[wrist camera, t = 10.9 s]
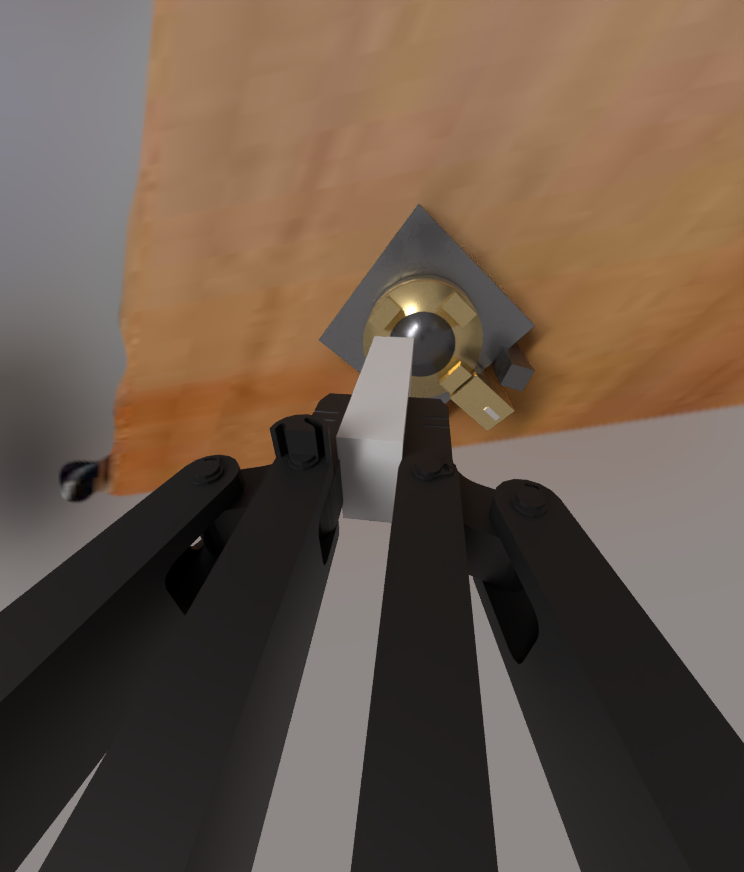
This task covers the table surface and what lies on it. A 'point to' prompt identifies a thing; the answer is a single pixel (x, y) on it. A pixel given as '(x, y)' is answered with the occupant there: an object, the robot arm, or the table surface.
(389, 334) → the brass ring with ball
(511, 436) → the table surface
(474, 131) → the table surface
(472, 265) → the housing
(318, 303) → the table surface
